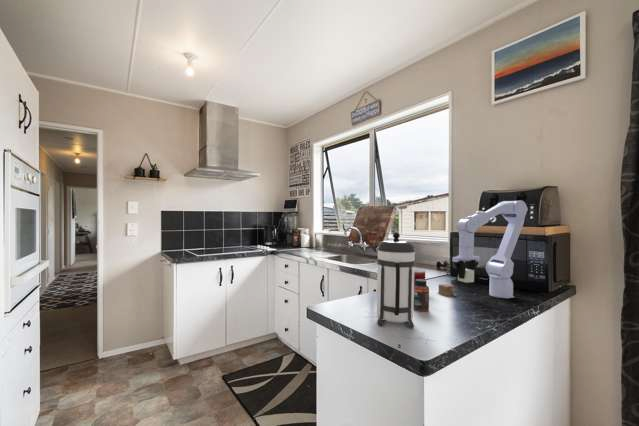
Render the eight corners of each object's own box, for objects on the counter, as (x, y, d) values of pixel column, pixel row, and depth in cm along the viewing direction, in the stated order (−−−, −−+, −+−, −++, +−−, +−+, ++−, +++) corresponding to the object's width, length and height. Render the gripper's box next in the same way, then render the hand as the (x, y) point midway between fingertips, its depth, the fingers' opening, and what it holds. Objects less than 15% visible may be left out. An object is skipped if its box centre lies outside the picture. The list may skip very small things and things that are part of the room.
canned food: (422, 292, 141) (423, 268, 141) (426, 297, 133) (427, 272, 133) (405, 291, 141) (406, 268, 141) (409, 296, 133) (409, 271, 133)
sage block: (464, 279, 133) (465, 268, 133) (473, 281, 129) (474, 270, 129) (457, 280, 132) (458, 268, 132) (466, 282, 127) (467, 270, 127)
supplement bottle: (429, 308, 116) (430, 279, 116) (428, 313, 111) (428, 282, 111) (413, 306, 119) (414, 277, 119) (411, 310, 113) (411, 280, 113)
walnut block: (445, 292, 138) (446, 283, 138) (453, 294, 134) (454, 285, 134) (438, 293, 136) (438, 284, 136) (446, 295, 132) (446, 286, 132)
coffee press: (360, 318, 104) (362, 231, 104) (395, 311, 112) (397, 230, 112) (396, 336, 89) (398, 235, 89) (433, 327, 97) (435, 234, 97)
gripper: (469, 245, 137) (469, 275, 137) (446, 245, 131) (446, 277, 131) (484, 247, 131) (483, 278, 131) (460, 247, 125) (459, 280, 125)
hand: (465, 277), depth 131 cm, fingers closed on sage block, 4 cm apart
